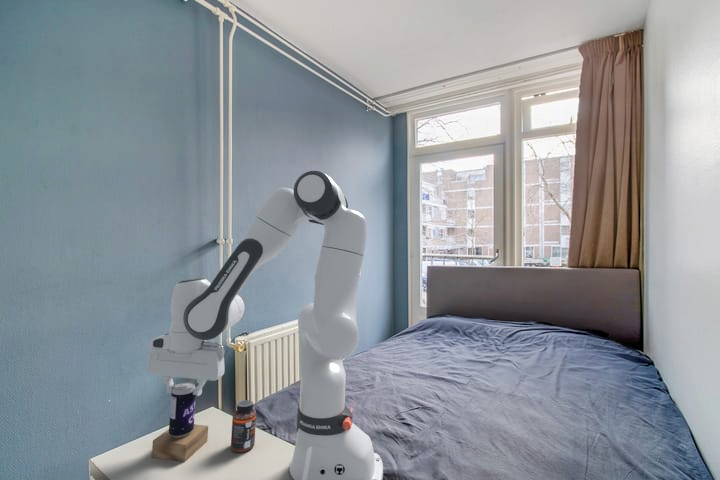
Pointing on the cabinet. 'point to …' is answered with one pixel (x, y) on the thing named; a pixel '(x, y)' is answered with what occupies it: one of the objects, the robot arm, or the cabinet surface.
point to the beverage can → (182, 410)
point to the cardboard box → (179, 444)
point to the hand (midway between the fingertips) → (184, 393)
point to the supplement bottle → (243, 427)
